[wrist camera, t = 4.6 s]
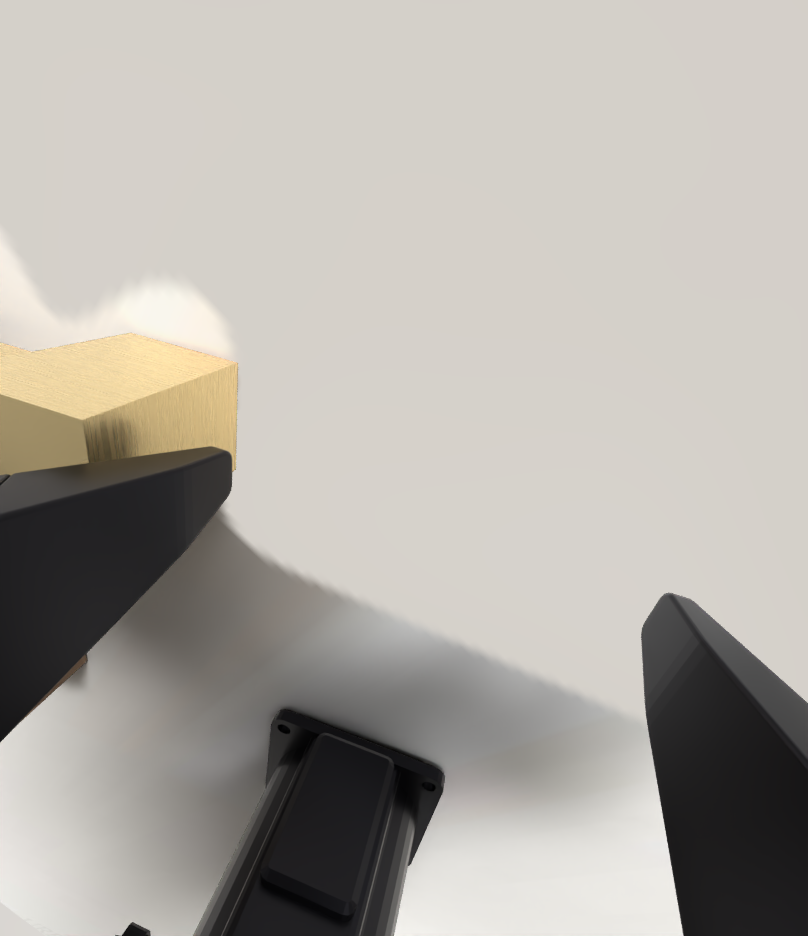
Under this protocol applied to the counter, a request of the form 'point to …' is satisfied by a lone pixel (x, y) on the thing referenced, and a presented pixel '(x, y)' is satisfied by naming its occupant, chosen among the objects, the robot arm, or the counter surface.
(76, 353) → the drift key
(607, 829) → the counter surface
